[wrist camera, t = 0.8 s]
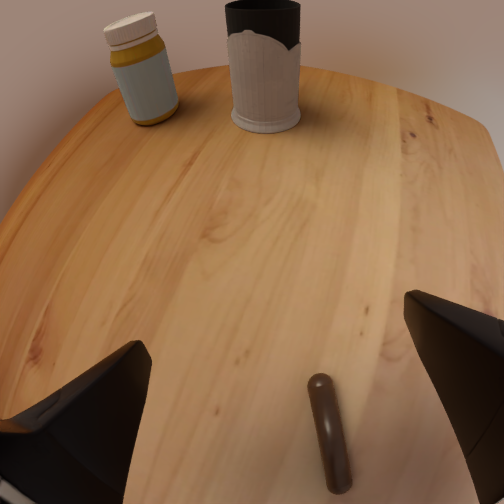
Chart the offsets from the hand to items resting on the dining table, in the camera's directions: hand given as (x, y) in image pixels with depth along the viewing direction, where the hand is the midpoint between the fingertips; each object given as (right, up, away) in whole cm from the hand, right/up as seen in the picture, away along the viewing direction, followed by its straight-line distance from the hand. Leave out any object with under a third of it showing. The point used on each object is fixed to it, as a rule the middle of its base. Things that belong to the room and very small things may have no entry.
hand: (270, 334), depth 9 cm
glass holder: (+2, +22, +26) cm, 34 cm away
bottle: (-14, +22, +26) cm, 37 cm away
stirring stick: (+5, -11, +8) cm, 14 cm away
